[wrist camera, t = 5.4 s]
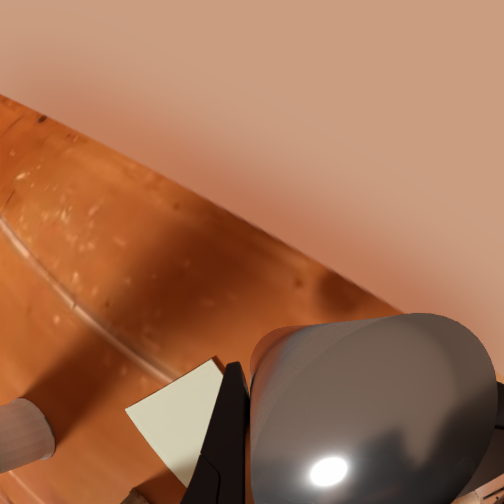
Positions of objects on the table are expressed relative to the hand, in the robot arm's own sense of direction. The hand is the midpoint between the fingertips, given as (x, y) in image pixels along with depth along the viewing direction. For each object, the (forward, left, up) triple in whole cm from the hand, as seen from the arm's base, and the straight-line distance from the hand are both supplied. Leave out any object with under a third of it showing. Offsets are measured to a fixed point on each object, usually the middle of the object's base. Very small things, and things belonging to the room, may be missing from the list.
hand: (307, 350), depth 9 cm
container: (+4, +27, -13) cm, 31 cm away
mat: (-3, +9, -13) cm, 17 cm away
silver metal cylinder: (-1, 0, -7) cm, 7 cm away
